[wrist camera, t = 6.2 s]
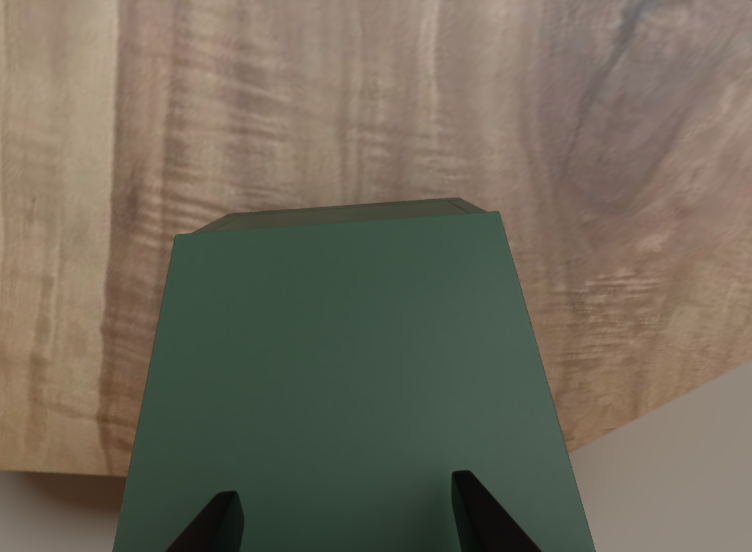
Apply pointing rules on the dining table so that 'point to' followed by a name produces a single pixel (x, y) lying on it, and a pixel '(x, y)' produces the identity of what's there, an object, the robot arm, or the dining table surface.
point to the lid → (347, 390)
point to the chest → (340, 214)
